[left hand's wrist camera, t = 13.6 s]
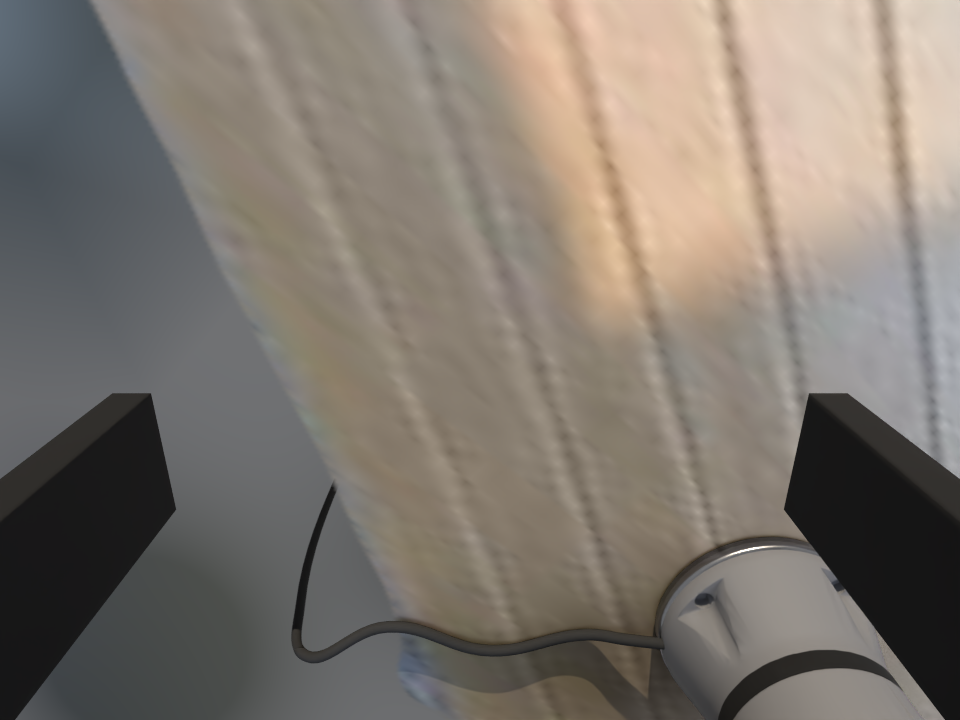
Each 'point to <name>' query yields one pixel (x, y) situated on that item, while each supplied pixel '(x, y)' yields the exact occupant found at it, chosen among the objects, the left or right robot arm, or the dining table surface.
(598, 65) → the dining table surface
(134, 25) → the dining table surface
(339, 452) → the dining table surface
